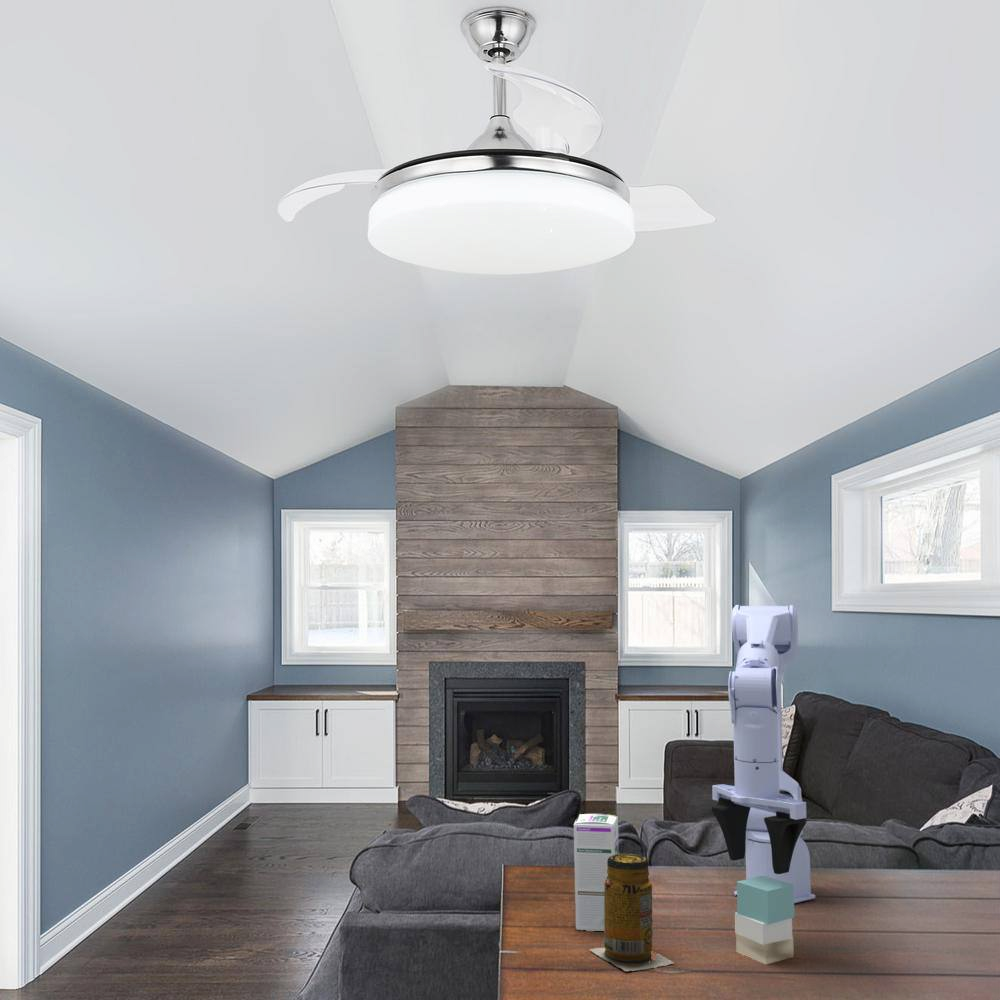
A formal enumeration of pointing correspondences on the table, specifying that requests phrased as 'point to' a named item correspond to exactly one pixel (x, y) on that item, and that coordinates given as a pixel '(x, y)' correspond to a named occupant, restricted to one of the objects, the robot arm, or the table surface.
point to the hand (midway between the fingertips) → (758, 865)
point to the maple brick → (765, 950)
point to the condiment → (628, 915)
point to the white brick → (763, 930)
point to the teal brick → (765, 899)
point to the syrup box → (592, 866)
